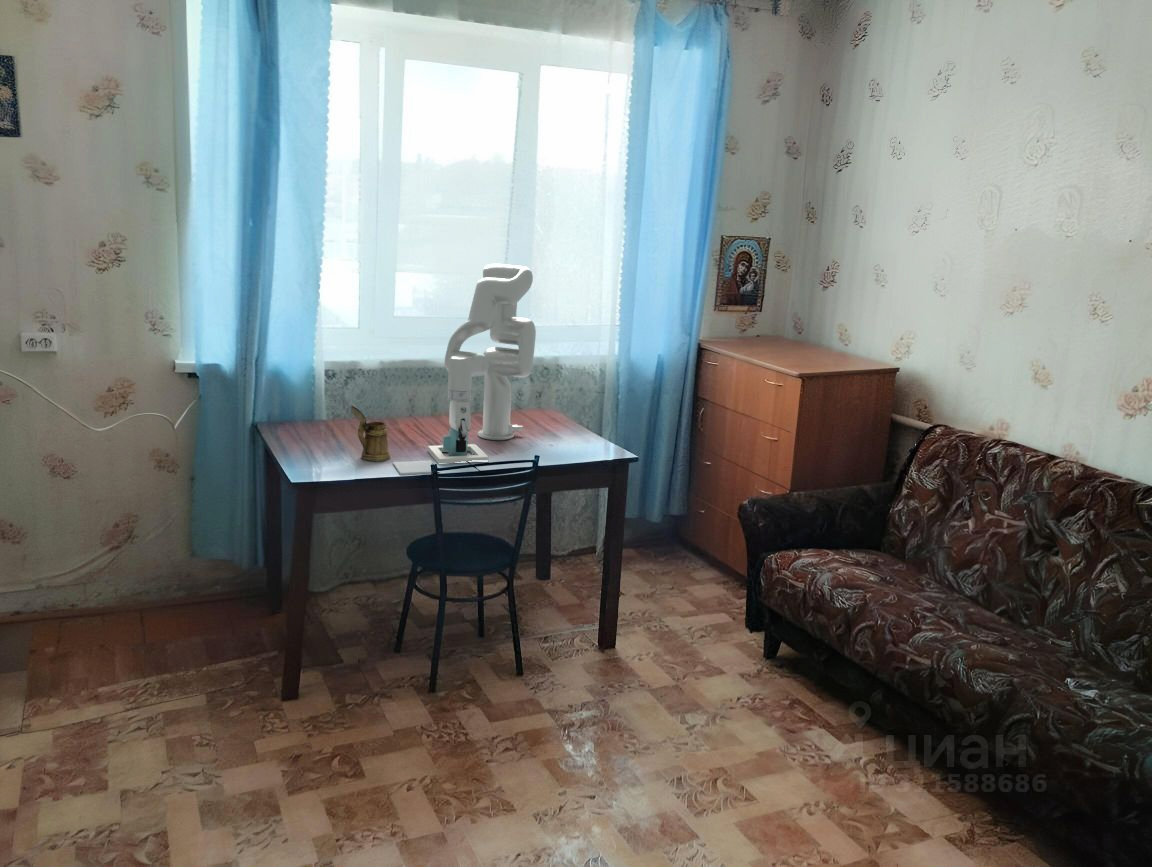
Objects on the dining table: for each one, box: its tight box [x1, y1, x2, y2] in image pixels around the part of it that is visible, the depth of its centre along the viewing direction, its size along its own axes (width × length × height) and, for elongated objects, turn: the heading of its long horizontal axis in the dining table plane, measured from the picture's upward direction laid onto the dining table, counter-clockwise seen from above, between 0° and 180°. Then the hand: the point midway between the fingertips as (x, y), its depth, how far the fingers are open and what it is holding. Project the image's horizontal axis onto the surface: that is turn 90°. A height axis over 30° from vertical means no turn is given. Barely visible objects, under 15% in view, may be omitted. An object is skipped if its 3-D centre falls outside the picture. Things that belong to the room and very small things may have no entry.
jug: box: [442, 427, 469, 456], centre depth 318 cm, size 8×6×9 cm
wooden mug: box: [350, 405, 391, 462], centre depth 309 cm, size 9×14×18 cm, turn 134°
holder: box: [427, 443, 489, 464], centre depth 319 cm, size 16×16×2 cm
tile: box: [392, 459, 434, 476], centre depth 303 cm, size 12×12×1 cm
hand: (458, 448), depth 319 cm, fingers closed on jug, 6 cm apart
